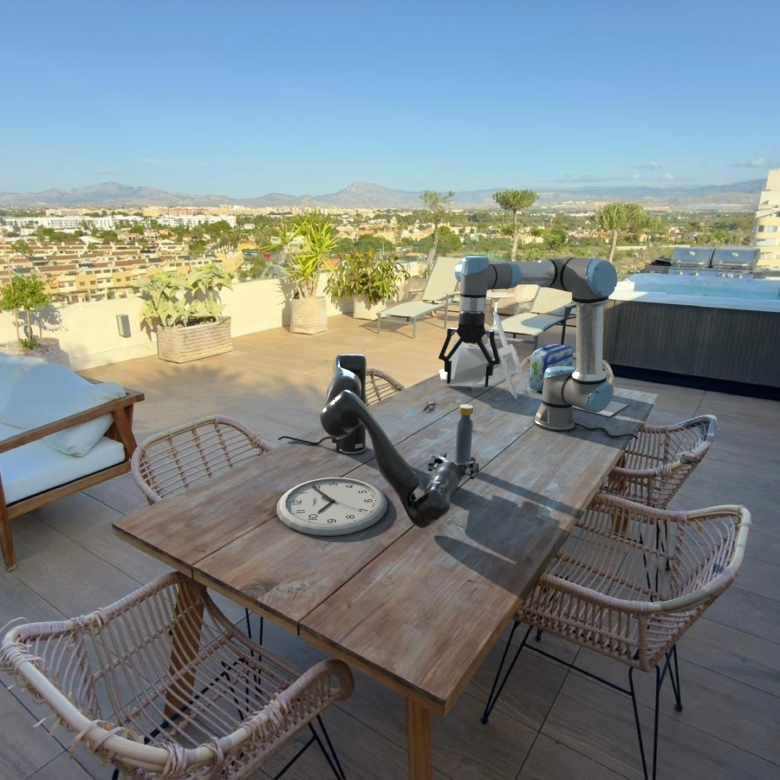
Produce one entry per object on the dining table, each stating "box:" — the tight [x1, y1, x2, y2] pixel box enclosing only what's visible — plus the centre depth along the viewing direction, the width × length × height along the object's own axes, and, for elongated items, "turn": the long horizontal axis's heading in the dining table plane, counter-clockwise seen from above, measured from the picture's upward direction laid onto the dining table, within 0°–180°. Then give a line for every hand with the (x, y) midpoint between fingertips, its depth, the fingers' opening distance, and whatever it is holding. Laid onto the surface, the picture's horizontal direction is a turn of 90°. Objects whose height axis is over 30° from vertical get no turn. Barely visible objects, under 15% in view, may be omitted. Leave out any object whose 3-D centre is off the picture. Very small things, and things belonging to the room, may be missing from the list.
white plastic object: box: [438, 310, 531, 400], centre depth 245 cm, size 37×45×31 cm
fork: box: [422, 395, 437, 412], centre depth 223 cm, size 3×16×2 cm, turn 160°
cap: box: [458, 403, 474, 416], centre depth 160 cm, size 4×4×2 cm
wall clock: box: [276, 476, 388, 537], centre depth 142 cm, size 30×2×30 cm
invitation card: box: [573, 400, 629, 418], centre depth 226 cm, size 21×1×15 cm
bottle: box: [454, 414, 474, 468], centre depth 163 cm, size 5×5×20 cm
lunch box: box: [528, 343, 574, 392], centre depth 248 cm, size 26×11×21 cm, turn 134°
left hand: (458, 457), depth 159 cm, fingers open, 8 cm apart
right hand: (467, 384), depth 158 cm, fingers open, 11 cm apart
